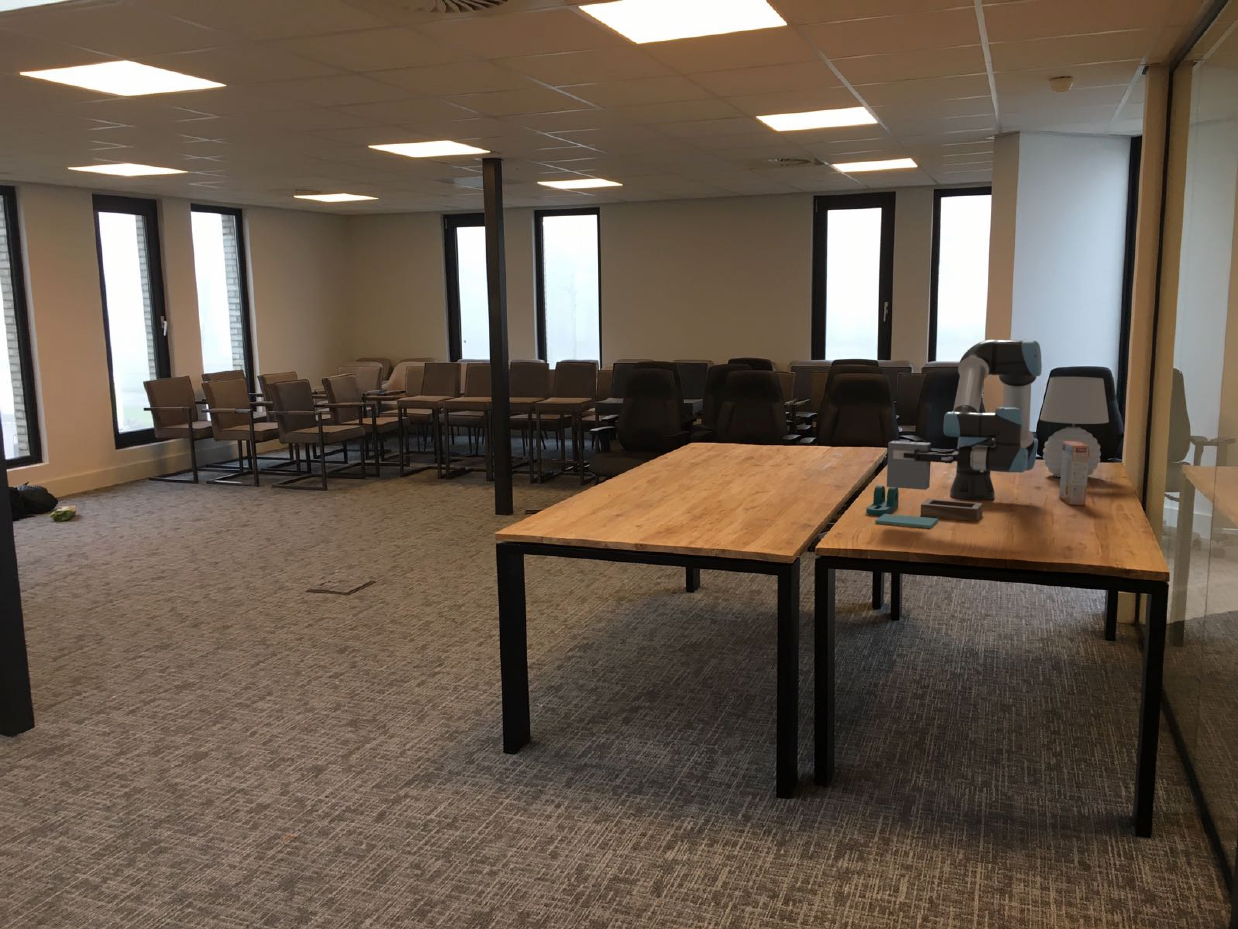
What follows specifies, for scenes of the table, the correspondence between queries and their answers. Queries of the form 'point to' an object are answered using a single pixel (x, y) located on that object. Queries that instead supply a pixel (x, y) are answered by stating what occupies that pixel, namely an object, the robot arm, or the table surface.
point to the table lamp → (1073, 417)
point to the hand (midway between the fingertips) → (896, 453)
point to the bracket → (883, 501)
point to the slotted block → (951, 509)
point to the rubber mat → (907, 520)
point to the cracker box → (1074, 472)
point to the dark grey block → (908, 467)
